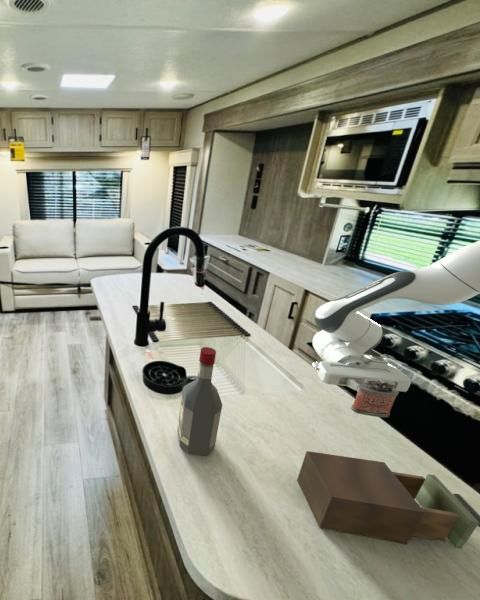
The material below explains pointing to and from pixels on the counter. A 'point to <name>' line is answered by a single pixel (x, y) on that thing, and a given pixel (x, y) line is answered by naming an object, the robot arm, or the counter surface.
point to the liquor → (200, 409)
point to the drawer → (440, 510)
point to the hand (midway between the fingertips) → (378, 394)
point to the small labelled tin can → (375, 398)
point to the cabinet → (358, 497)
